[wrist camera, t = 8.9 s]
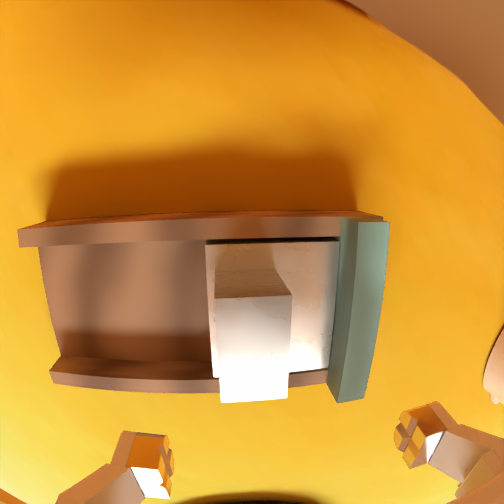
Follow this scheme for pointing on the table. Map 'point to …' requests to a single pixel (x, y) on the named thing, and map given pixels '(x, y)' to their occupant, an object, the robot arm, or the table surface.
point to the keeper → (269, 311)
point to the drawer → (190, 296)
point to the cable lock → (264, 503)
